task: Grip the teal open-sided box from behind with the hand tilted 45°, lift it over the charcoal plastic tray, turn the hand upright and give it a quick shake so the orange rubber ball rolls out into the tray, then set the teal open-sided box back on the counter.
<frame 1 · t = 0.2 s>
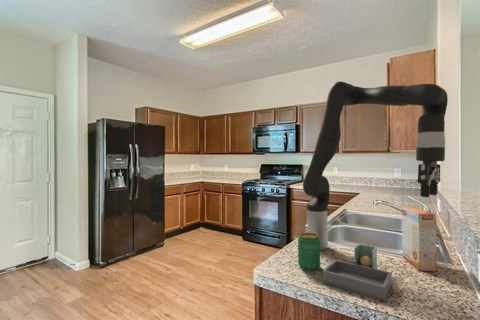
hand: (429, 195, 83), 28 cm above the worktop, tool pointing down, fingers open, 8 cm apart
cracker box: (418, 264, 97), on the worktop
tray: (357, 284, 82), on the worktop
beverage can: (309, 267, 96), on the worktop
teal open-sided box: (366, 271, 91), on the worktop, touching ball
ball: (365, 261, 91), point 3 cm above the worktop, touching teal open-sided box
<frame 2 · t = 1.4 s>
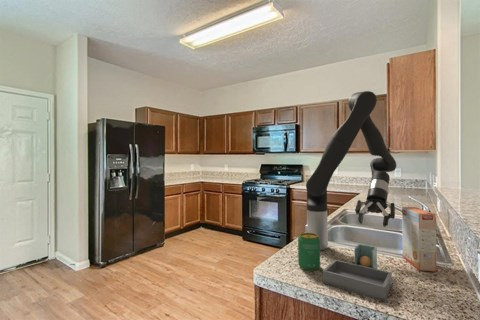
hand: (372, 224, 100), 15 cm above the worktop, tool tilted 45°, fingers open, 8 cm apart
ball: (365, 261, 91), point 3 cm above the worktop, tilted 9°, touching teal open-sided box
everything else where it was.
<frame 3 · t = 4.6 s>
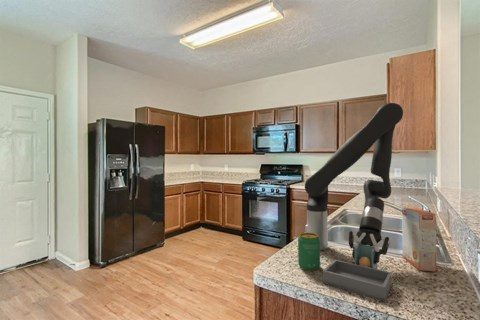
hand: (364, 260, 90), 4 cm above the worktop, tool tilted 45°, fingers closed on teal open-sided box, 6 cm apart
teal open-sided box: (366, 271, 91), on the worktop, touching ball, gripper
ball: (365, 262, 90), point 3 cm above the worktop, tilted 35°, touching teal open-sided box
everything else where it was.
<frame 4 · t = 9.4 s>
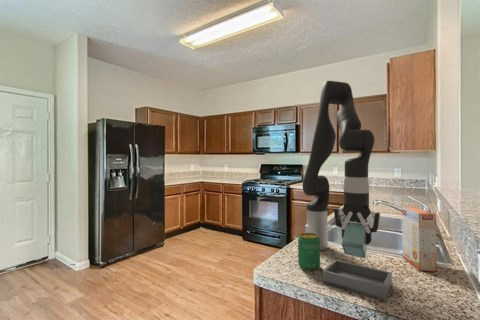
hand: (356, 241, 82), 14 cm above the worktop, tool pointing down, fingers closed on teal open-sided box, 6 cm apart
teal open-sided box: (353, 251, 79), point 12 cm above the worktop, tilted 45°, touching ball, gripper
ball: (357, 244, 81), point 13 cm above the worktop, tilted 84°, touching teal open-sided box
everything else where it was.
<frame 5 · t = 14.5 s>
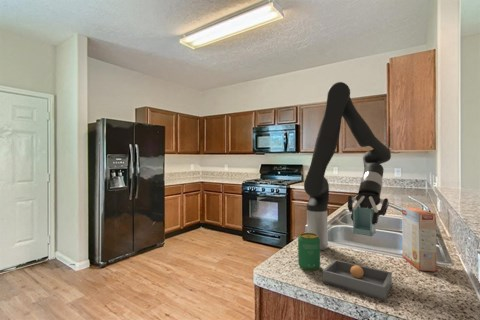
hand: (363, 221, 90), 18 cm above the worktop, tool tilted 45°, fingers closed on teal open-sided box, 6 cm apart
teal open-sided box: (364, 232, 91), point 14 cm above the worktop, touching gripper
ball: (356, 271, 84), point 3 cm above the worktop, tilted 159°, touching tray
everything else where it was.
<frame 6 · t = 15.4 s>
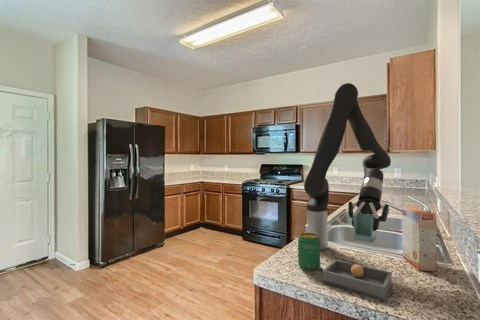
hand: (364, 228, 90), 16 cm above the worktop, tool tilted 45°, fingers closed on teal open-sided box, 6 cm apart
teal open-sided box: (365, 239, 91), point 12 cm above the worktop, touching gripper
when the fingers open (5 cm above the worktop, at t = 18.2 s): teal open-sided box stays where it is, on the worktop.
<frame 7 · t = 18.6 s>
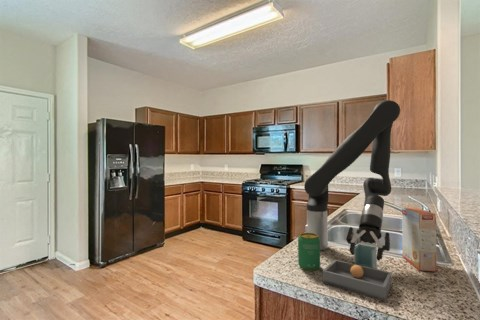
hand: (364, 256, 90), 6 cm above the worktop, tool tilted 45°, fingers open, 8 cm apart
teal open-sided box: (365, 271, 91), on the worktop
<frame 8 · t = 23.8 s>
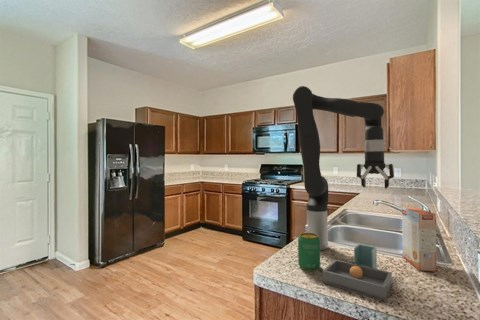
hand: (374, 187, 110), 28 cm above the worktop, tool pointing down, fingers open, 8 cm apart
ball: (356, 272, 84), point 3 cm above the worktop, tilted 145°, touching tray
everything else where it was.
at the end: ball inside the target area on the tray (1.9 cm from its centre), point 3.0 cm above the tray's base; teal open-sided box tilted 0°; teal open-sided box inside the target area (0.2 cm from its centre), on the worktop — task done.
